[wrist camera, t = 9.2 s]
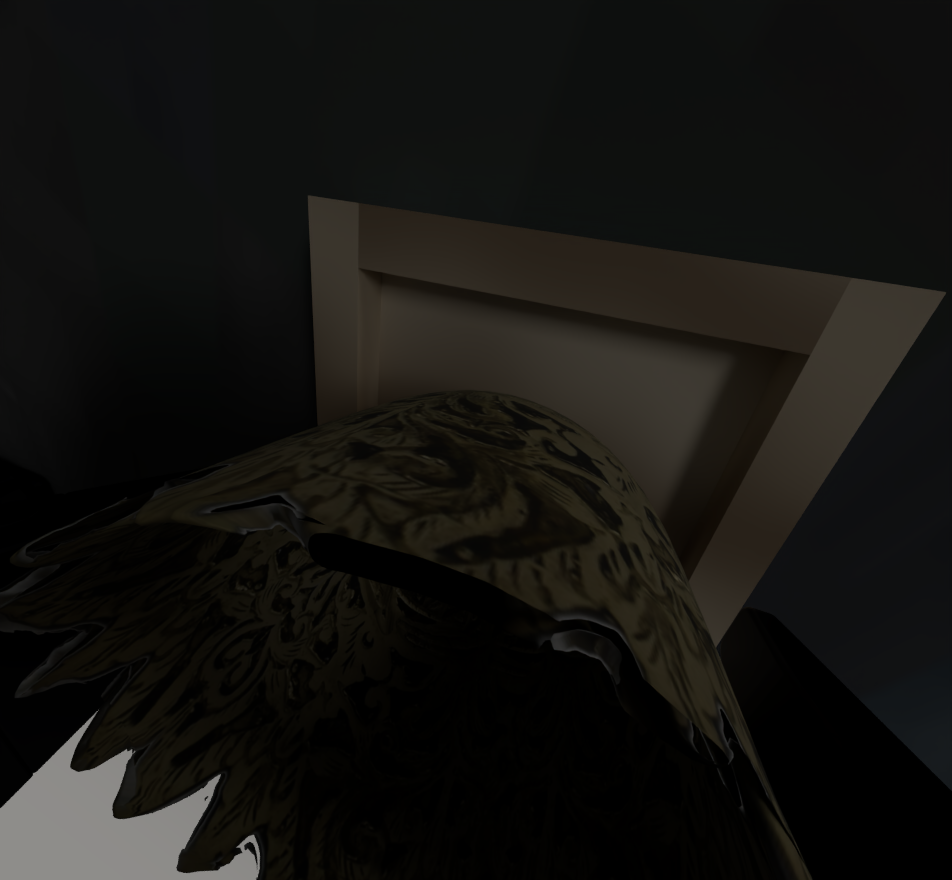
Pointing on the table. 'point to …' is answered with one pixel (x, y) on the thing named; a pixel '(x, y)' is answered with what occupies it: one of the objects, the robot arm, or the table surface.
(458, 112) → the table surface
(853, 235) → the table surface
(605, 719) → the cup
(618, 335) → the birch stand
